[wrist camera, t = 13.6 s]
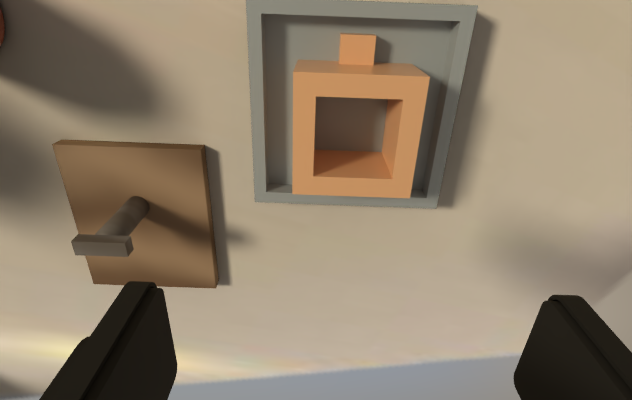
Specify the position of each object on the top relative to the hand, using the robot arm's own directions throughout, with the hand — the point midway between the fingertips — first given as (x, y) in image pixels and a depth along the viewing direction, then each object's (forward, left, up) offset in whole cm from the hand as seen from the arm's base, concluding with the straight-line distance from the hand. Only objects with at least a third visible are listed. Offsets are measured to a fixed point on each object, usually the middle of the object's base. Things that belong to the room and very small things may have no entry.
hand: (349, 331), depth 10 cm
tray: (+1, -1, -18) cm, 18 cm away
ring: (+1, -1, -18) cm, 18 cm away
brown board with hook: (-8, +14, -18) cm, 24 cm away
